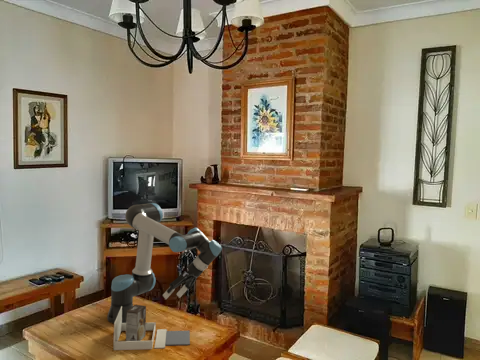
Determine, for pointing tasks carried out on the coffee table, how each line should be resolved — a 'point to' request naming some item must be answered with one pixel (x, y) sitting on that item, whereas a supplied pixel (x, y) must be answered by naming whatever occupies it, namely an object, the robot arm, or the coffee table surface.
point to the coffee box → (135, 323)
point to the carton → (137, 344)
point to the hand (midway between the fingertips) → (171, 296)
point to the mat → (177, 338)
